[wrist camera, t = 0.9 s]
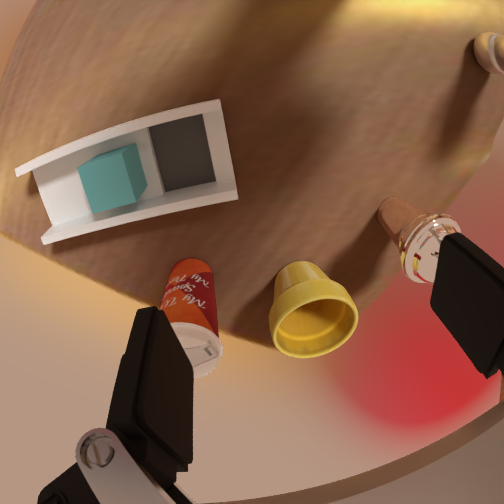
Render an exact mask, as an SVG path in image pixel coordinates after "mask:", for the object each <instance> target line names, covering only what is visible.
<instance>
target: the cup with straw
mask: <svg viewBox="0 0 504 504" xmlns="http://www.w3.org/2000/svg"><path fill="white" fill-rule="evenodd" d="M378 220H379V222H380V223H381V224H382V226H383V228H384V229H385V231H386V232H387V234H388V235H389V236H390V238H391V239H392V241H393V242H394V244H395V245H396V247H397V248H398V250H399V253H400V255H401V266H402V270H403V272H404V274H405V275H406V276H407V277H408V278H410V279H411V280H413V281H415V282H418V283H431V284H434V279H435V274H436V268H437V262H438V255H439V249H440V243H441V241H442V240H443V238H444V236H446V235H448V234H452V233H455V232H459V233H461V230H460V227H459V225H458V224H457V223H456V221H455V220H454V219H453V218H452V217H451V216H449V215H447V214H442V213H441V214H431V213H428V212H426V211H424V210H422V209H420V208H419V207H417V206H415V205H413V204H411V203H409V202H407V201H405V200H403V199H401V198H399V197H396V196H393V197H389V198H387V199H386V200H384V201H383V203H382V204H381V205H380V207H379V210H378Z"/></svg>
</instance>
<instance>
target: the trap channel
mask: <svg viewBox="0 0 504 504" xmlns="http://www.w3.org/2000/svg"><path fill="white" fill-rule="evenodd" d="M134 143H136V144H137V148H138V152H139V156H140V160H141V163H142V167H143V170H144V174H145V178H146V181H147V185H148V186H147V187H146V189H145V190H144V192H143V193H142V195H141V196H140V197H139V199H138V200H137V202H135V203H131V204H127V205H123V206H120V207H116V208H112V209H108V210H105V211H101V212H98V213H94V214H93V213H92V210H91V208H90V205H89V202H88V199H87V197H86V194H85V191H84V188H83V185H82V182H81V179H80V176H79V173H78V169H77V167H79V166H80V165H82V164H84V163H85V162H87V161H88V160H90V159H91V158H93V157H95V156H96V155H99V154H102V153H105V152H108V151H111V150H114V149H117V148H121V147H124V146H127V145H130V144H134ZM31 170H32V172H33V175H34V178H35V181H36V184H37V187H38V189H39V192H40V195H41V198H42V200H43V203H44V206H45V208H46V211H47V213H48V216H49V218H50V221H51V223H52V227H51V228H50V229H49V230H48V231H47V232H46V233H45V234H44V235H43V236H42V237H41V239H42V242H43V244H44V245H46V244H49V243H53V242H56V241H60V240H63V239H67V238H70V237H74V236H78V235H82V234H85V233H89V232H93V231H97V230H101V229H105V228H109V227H113V226H117V225H121V224H125V223H129V222H133V221H137V220H141V219H146V218H150V217H155V216H159V215H163V214H168V213H172V212H177V211H182V210H186V209H191V208H196V207H201V206H206V205H211V204H216V203H221V202H226V201H231V200H237V199H238V194H237V187H236V181H235V176H234V171H233V165H232V160H231V155H230V149H229V144H228V139H227V133H226V128H225V123H224V117H223V112H222V107H221V101H220V99H214V100H209V101H205V102H200V103H195V104H191V105H186V106H182V107H178V108H174V109H170V110H166V111H162V112H159V113H155V114H152V115H148V116H145V117H141V118H138V119H135V120H131V121H128V122H125V123H122V124H119V125H116V126H113V127H110V128H107V129H104V130H102V131H99V132H96V133H93V134H91V135H88V136H85V137H83V138H80V139H78V140H75V141H73V142H70V143H68V144H66V145H63V146H61V147H58V148H56V149H54V150H52V151H49V152H47V153H45V154H43V155H41V156H39V157H36V158H34V159H32V160H31V161H29V162H27V163H25V164H23V165H21V166H19V167H18V168H16V169H15V172H16V175H17V177H18V176H20V175H22V174H25V173H27V172H29V171H31Z"/></svg>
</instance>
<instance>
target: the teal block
mask: <svg viewBox="0 0 504 504" xmlns="http://www.w3.org/2000/svg"><path fill="white" fill-rule="evenodd" d="M77 169H78V173H79V176H80V179H81V182H82V185H83V188H84V191H85V194H86V197H87V199H88V202H89V205H90V208H91V210H92V213H93V214H94V213H98V212H101V211H105V210H108V209H112V208H116V207H120V206H123V205H127V204H131V203H135V202H137V200H138V199H139V197H140V196H141V195H142V193H143V192H144V190H145V189H146V187H147V186H148V185H147V181H146V178H145V174H144V170H143V167H142V163H141V160H140V156H139V152H138V148H137V144H136V143H134V144H130V145H127V146H124V147H121V148H117V149H114V150H111V151H108V152H105V153H102V154H99V155H96V156H95V157H93V158H91V159H90V160H88V161H87V162H85V163H84V164H82V165H80V166H79V167H77Z"/></svg>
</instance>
